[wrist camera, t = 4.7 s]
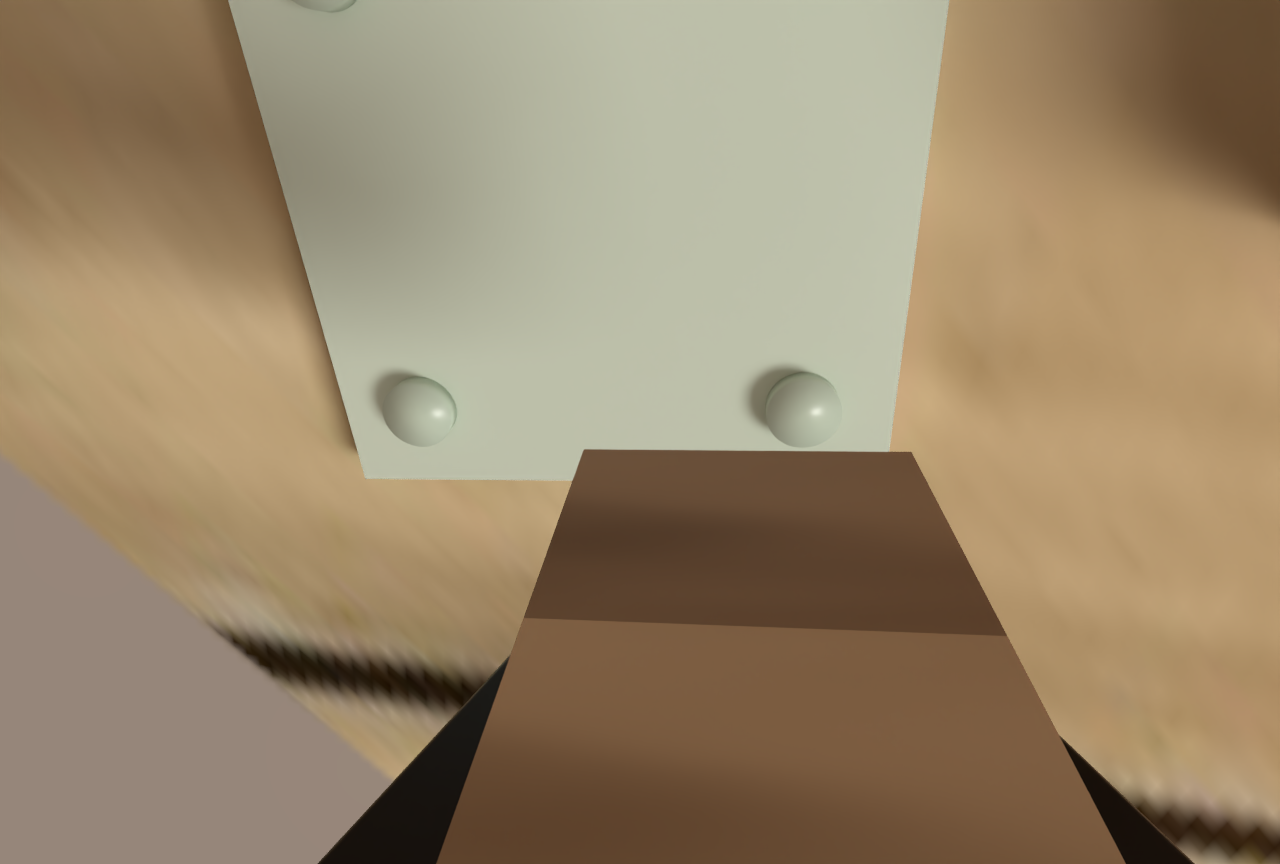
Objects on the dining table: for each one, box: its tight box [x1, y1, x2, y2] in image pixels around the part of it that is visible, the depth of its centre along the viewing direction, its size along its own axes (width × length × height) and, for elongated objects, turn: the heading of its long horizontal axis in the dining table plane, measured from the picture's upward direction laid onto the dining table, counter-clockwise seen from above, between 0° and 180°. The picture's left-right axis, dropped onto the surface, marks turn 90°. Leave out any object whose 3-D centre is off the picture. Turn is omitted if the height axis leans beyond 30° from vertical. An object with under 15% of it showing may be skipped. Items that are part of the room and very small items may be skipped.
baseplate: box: [228, 0, 949, 481], centre depth 17 cm, size 16×16×2 cm
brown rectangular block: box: [436, 449, 1126, 864], centre depth 7 cm, size 4×4×6 cm
